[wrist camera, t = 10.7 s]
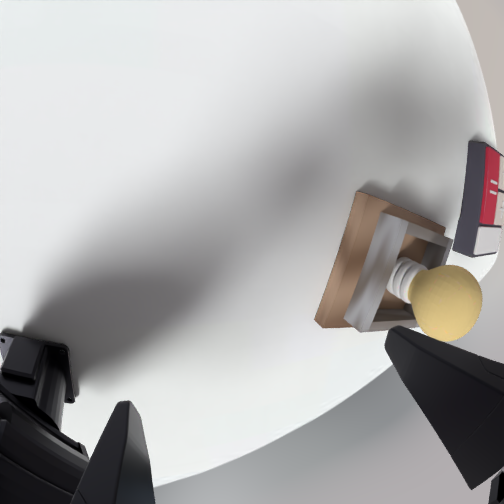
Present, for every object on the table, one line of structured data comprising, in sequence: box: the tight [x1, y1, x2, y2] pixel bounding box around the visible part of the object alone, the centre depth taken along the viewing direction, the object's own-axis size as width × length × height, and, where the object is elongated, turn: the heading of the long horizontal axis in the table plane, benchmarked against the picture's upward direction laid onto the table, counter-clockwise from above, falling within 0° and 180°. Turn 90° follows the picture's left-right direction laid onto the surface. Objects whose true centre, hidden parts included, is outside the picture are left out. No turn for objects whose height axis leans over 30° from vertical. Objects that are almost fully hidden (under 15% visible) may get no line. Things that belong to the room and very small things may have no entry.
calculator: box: [452, 141, 504, 257], centre depth 30 cm, size 11×4×15 cm
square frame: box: [314, 191, 453, 332], centre depth 26 cm, size 12×14×4 cm
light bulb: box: [386, 257, 482, 341], centre depth 22 cm, size 6×6×10 cm
